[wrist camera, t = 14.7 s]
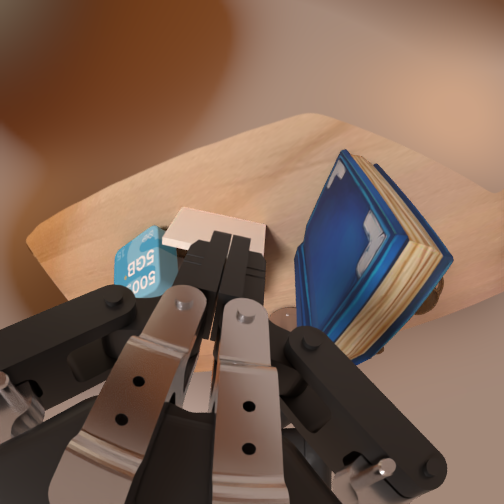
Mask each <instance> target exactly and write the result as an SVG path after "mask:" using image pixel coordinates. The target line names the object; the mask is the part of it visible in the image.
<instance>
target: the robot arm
mask: <svg viewBox="0 0 504 504" xmlns="http://www.w3.org/2000/svg"><path fill="white" fill-rule="evenodd" d="M231 237H232V234H229V233H225V232H220V231H215V230H214V232H213V234H212V237H211V240H210V242H208V241H203V240H197V241H196V242H194V243H193V244H192V245H190V247H189V249H188V251H187V254H186V256H185V258H184V261H183V262H182V265H181V267H180V269H179V271H178V274H177V276H176V278H175V280H174V283H173V285H172V287H170V288H169V289H167V290H166V291H165V292H164V294H163V295H161V296H157V297H152V298H135V295H134V293H133V291H132V290H130V289H129V288H127V287H125V286H122V285H115V284H114V285H107V286H104V287H102V288H99V289H97V290H94V291H92V292H89V293H87V294H85V295H82V296H80V297H77V298H75V299H72V300H70V301H68V302H65V303H63V304H60V305H58V306H55V307H53V308H51V309H48V310H46V311H43V312H41V313H39V314H36V315H34V316H32V317H29V318H27V319H24V320H22V321H20V322H18V323H15V324H13V325H10V326H8V327H6V328H4V329H1V330H0V504H410V502H411V501H412V500H413V499H415V498H417V497H419V496H421V495H422V494H425V493H427V492H429V491H431V490H434V489H436V488H438V487H439V486H440V485H441V484H442V483H443V482H444V480H445V478H446V475H447V464H446V461H445V458H444V457H443V455H442V454H441V453H440V452H439V451H438V450H437V449H436V448H435V447H434V446H433V445H432V444H431V443H430V442H429V440H427V438H426V437H425V436H424V435H423V434H422V433H420V431H419V430H418V429H417V428H416V427H415V426H414V425H413V424H412V423H411V422H410V421H409V420H408V419H407V418H406V417H405V416H404V415H403V414H402V413H401V412H400V411H399V410H398V409H397V408H396V407H395V405H394V404H393V403H392V402H391V401H390V400H389V399H388V398H387V397H386V396H385V395H384V394H383V393H382V392H381V391H380V390H379V389H378V388H377V387H376V386H375V385H374V384H373V383H372V382H371V381H370V380H369V379H368V378H367V376H366V375H365V374H364V373H363V372H362V371H361V370H360V369H359V368H358V367H357V366H356V365H355V364H354V363H353V362H352V361H351V360H350V359H349V358H348V357H347V356H346V355H345V354H344V353H343V352H342V351H341V350H340V348H339V347H338V346H337V345H336V344H335V343H334V342H333V341H332V340H331V339H330V338H329V337H328V336H327V335H326V334H325V333H324V332H322V331H321V330H319V329H317V328H315V327H312V326H299V327H297V315H296V308H283V309H280V310H277V311H275V312H274V313H273V314H271V315H270V317H269V318H268V313H267V311H266V309H265V308H264V307H263V303H264V288H265V271H266V261H265V259H264V257H263V255H262V253H258V252H253V251H249V249H250V242H251V238H247V237H243V236H238V235H233V238H232V242H231ZM230 242H231V246H230ZM229 247H230V250H229ZM228 252H229V254H228ZM215 309H216V310H215ZM214 313H215V316H214ZM213 317H214V321H213ZM212 322H213V327H212V332H211V338H210V340H212V341H215V345H214V350H213V356H214V360H213V369H212V379H211V388H210V399H209V409H208V413H192V412H188V411H186V410H184V409H182V407H183V402H184V398H185V395H186V392H187V389H188V386H189V383H190V380H191V378H192V375H193V372H194V369H195V366H196V363H197V360H198V357H199V352H200V345H201V341H202V338H203V339H209V334H210V330H211V326H212ZM105 380H106V382H105V383H104V385H103V387H102V389H101V391H100V393H99V395H97V396H93V397H90V398H88V399H85V400H83V401H81V402H79V403H78V404H76V405H74V406H72V407H70V408H69V409H67V410H65V411H63V412H61V413H59V414H57V415H56V416H54V417H52V418H50V419H48V420H46V421H45V422H43V419H44V414H45V410H48V409H49V408H52V407H54V406H56V405H58V404H60V403H62V402H64V401H66V400H68V399H70V398H72V397H74V396H76V395H78V394H80V393H82V392H84V391H86V390H88V389H90V388H92V387H94V386H96V385H98V384H99V383H102V382H103V381H105ZM290 423H292V424H293V425H294V427H295V428H285V429H283V428H284V427H286V426H287V425H289V424H290ZM331 470H332V471H333V472H334V473H335V476H334V479H333V491H334V493H335V494H336V495H335V494H334V493H333V492H332V491H331ZM336 496H337V497H338V498H337V497H336Z"/></svg>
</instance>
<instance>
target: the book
mask: <svg viewBox="0 0 504 504" xmlns="http://www.w3.org/2000/svg"><path fill="white" fill-rule="evenodd" d="M453 261H454V260H453V256H452V255H451V254H450V252H449V251H448V249H447V248H446V246H445V245H444V244H443V242H442V241H441V240H440V238H439V237H438V236H437V234H436V233H435V232H434V230H433V229H432V228H431V226H430V225H429V224H428V222H427V221H426V220H425V219H424V217H423V216H422V215H421V214H420V212H419V211H418V210H417V209H416V207H415V206H414V205H413V204H412V202H411V201H410V200H409V199H408V198H407V197H406V195H405V194H404V193H403V192H402V191H401V190H400V188H399V187H398V186H397V185H396V184H395V183H394V182H393V180H392V179H391V178H390V177H389V176H388V175H387V174H386V173H385V172H384V171H383V169H382V168H381V167H380V166H379V165H378V164H374V165H372V164H371V163H370V162H368V161H367V160H366V159H365V158H363V157H362V156H356V155H350V153H349V152H348V151H347V150H346V149H345V150H341V152H340V154H339V156H338V158H337V160H336V162H335V164H334V166H333V169H332V171H331V173H330V175H329V177H328V179H327V181H326V183H325V185H324V187H323V190H322V192H321V194H320V196H319V199H318V201H317V203H316V205H315V208H314V210H313V212H312V214H311V216H310V219H309V221H308V223H307V225H306V231H305V236H304V241H303V242H302V243H301V244H300V245H299V246H298V248H297V251H296V254H295V258H294V265H295V287H296V315H297V327H299V326H312V327H315V328H317V329H319V330H321V331H322V332H324V333H325V334H326V335H327V336H328V337H329V338H330V339H331V340H332V341H333V342H334V343H335V344H336V345H337V346H338V347H339V348H340V350H341V351H342V352H343V353H344V354H345V355H346V356H347V357H348V358H349V359H350V360H351V361H352V362H353V363H354V364H355V365H358V364H360V363H362V362H364V361H366V360H368V359H370V358H371V357H372V356H374V355H375V354H376V353H377V352H378V351H379V350H380V349H381V348H382V347H383V346H384V345H385V344H386V343H387V342H388V341H389V340H390V339H391V338H392V337H393V336H394V335H395V334H396V333H397V332H398V331H399V330H400V329H401V328H402V327H403V326H404V325H405V324H406V323H407V322H408V320H409V319H410V318H411V317H412V316H413V315H414V314H415V313H416V311H417V310H418V309H419V308H420V306H421V305H422V304H423V302H424V301H425V300H426V299H427V297H428V296H429V295H430V293H431V292H432V291H433V289H434V288H435V287H436V285H437V284H438V282H439V281H440V280H441V278H442V277H443V275H444V274H445V273H446V271H447V270H448V268H449V267H450V265H451V264H452V262H453Z"/></svg>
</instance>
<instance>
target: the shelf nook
mask: <svg viewBox="0 0 504 504" xmlns="http://www.w3.org/2000/svg"><path fill="white" fill-rule="evenodd" d="M214 230H215V231H220V232H225V233H229V234H232V237H231V242H232V238H233V235H238V236H243V237H247V238H251V242H250V249H249V251H253V252H258V253H262V255H263V257H264V244H265V230H266V224H262V223H257V222H253V221H248V220H244V219H239V218H235V217H230V216H225V215H221V214H216V213H211V212H207V211H202V210H197V209H192V208H187V207H182V208H181V209H180V211H179V212H178V214H177V215H176V217H175V218H174V220H173V221H172V223H171V224H170V226H169V228H168V229H167V231H166V232H165V234H164V235H163V237H162V244H163V245H167V246H172V247H176V248H180V249H185V250H188V249H189V247H190V245H192V244H193V243H194V242H196V241H197V240H203V241H208V242H210V240H211V237H212V234H213V232H214ZM231 242H230V246H231ZM229 250H230V247H229ZM228 254H229V252H228ZM183 261H184V258H181V257H177V262H178V271H179V269H180V267H181V265H182V262H183Z"/></svg>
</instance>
